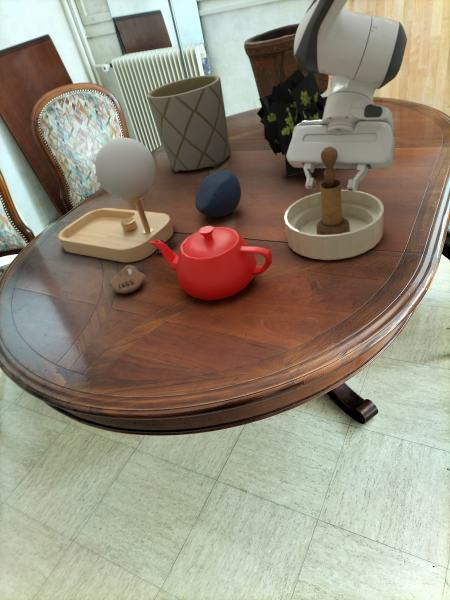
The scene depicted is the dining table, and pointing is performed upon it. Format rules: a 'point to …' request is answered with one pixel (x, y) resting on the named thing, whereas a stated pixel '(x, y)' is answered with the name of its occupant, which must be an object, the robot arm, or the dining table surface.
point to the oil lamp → (127, 280)
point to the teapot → (214, 262)
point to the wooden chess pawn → (331, 198)
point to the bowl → (363, 234)
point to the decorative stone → (218, 194)
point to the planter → (191, 122)
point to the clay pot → (276, 59)
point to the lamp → (119, 222)
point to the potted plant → (290, 112)
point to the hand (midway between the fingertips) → (330, 189)
